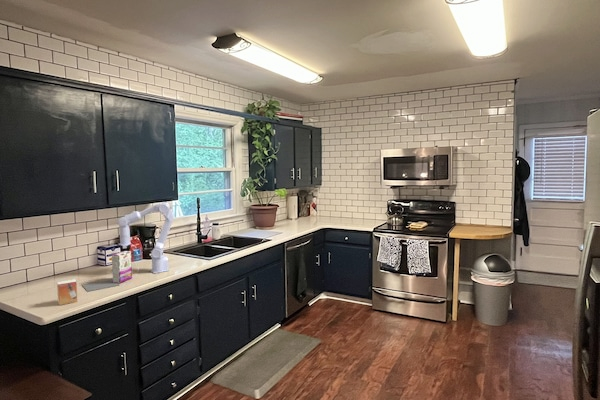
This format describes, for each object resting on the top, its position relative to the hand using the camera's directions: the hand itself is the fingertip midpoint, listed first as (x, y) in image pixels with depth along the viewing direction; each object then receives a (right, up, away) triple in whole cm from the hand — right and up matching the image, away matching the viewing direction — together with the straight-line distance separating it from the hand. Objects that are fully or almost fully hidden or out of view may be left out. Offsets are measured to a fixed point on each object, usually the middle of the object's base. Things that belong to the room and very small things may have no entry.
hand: (126, 257), depth 233 cm
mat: (-5, -12, -21) cm, 25 cm away
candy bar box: (+4, -11, -14) cm, 18 cm away
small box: (-7, -15, -47) cm, 50 cm away
